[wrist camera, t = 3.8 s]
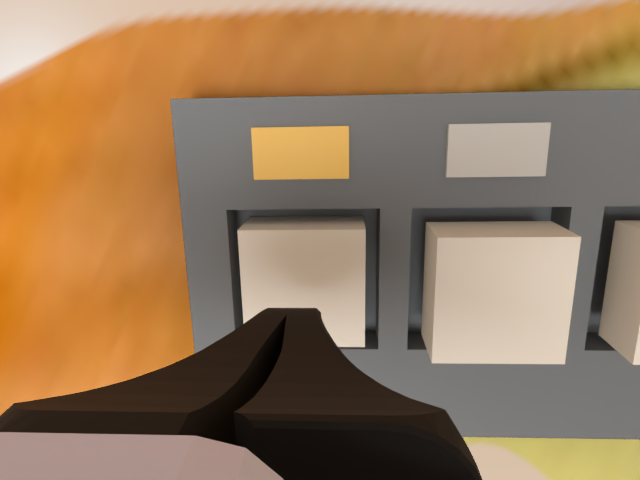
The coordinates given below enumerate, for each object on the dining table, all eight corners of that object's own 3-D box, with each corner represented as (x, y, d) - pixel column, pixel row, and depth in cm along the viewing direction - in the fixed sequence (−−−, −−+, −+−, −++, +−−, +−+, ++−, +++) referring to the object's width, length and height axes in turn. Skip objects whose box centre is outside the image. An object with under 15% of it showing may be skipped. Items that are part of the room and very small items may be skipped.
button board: (790, 87, 16) (861, 84, 13) (717, 407, 19) (765, 445, 17) (190, 100, 17) (167, 98, 14) (216, 401, 20) (201, 436, 18)
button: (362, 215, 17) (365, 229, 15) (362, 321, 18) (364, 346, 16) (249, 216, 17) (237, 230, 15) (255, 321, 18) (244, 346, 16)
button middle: (551, 221, 15) (581, 236, 13) (538, 334, 16) (564, 364, 14) (425, 221, 15) (437, 237, 14) (421, 334, 17) (431, 363, 15)
